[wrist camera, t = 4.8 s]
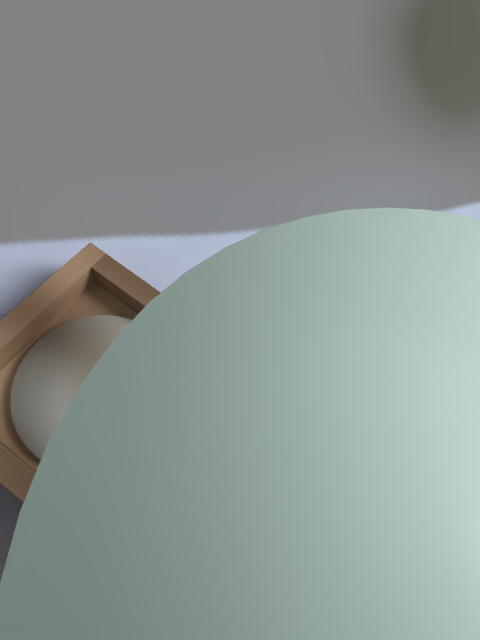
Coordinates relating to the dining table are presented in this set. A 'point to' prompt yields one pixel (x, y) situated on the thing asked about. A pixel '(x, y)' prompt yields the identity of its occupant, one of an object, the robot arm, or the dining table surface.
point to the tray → (58, 352)
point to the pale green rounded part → (273, 450)
